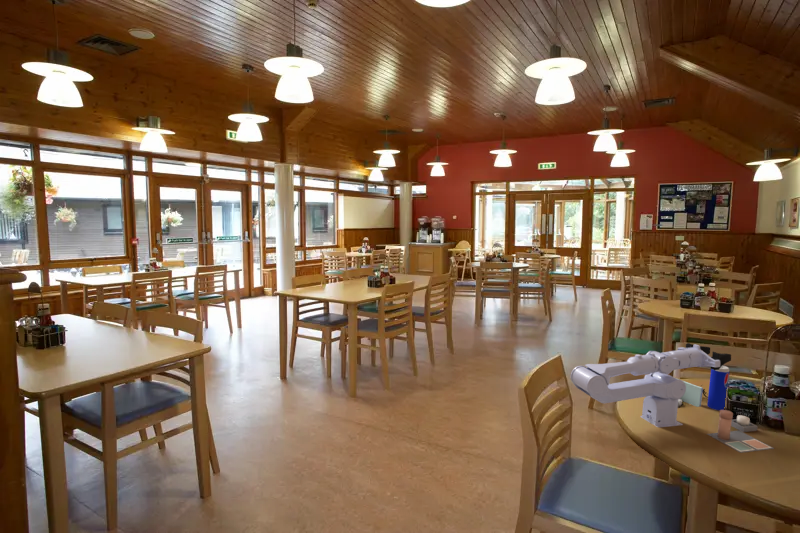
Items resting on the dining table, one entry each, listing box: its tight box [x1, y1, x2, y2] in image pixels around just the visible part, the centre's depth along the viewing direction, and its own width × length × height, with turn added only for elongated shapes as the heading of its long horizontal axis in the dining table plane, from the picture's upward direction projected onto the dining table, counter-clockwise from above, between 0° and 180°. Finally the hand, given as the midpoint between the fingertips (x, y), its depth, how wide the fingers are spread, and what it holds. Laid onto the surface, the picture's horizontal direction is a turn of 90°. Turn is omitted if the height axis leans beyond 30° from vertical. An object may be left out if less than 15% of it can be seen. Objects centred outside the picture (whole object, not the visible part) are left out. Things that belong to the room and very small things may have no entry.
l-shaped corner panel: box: [675, 377, 704, 408], centre depth 165 cm, size 12×12×8 cm
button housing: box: [731, 418, 758, 433], centre depth 146 cm, size 5×5×2 cm
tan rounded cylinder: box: [717, 409, 734, 440], centre depth 139 cm, size 3×3×8 cm
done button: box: [736, 414, 751, 427], centre depth 146 cm, size 3×3×2 cm
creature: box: [700, 384, 708, 400], centre depth 171 cm, size 8×5×8 cm
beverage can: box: [707, 365, 730, 411], centre depth 160 cm, size 5×5×15 cm
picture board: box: [706, 429, 775, 454], centre depth 138 cm, size 12×11×1 cm
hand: (719, 353), depth 152 cm, fingers open, 7 cm apart
